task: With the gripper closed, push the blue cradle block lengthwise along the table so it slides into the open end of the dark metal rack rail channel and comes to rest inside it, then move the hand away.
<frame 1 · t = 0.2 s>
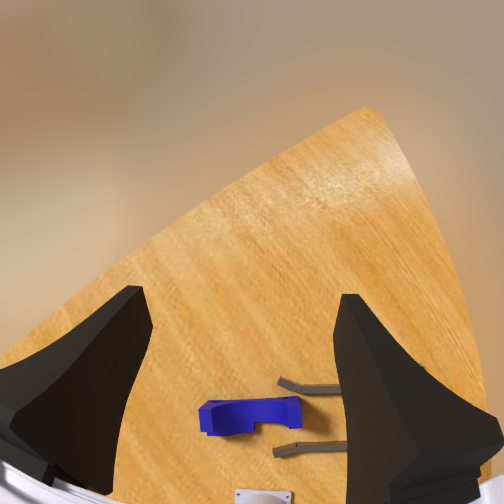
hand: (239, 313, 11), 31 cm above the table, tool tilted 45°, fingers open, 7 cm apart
rack rail: (356, 415, 36), on the table
blue cradle block: (254, 413, 38), on the table
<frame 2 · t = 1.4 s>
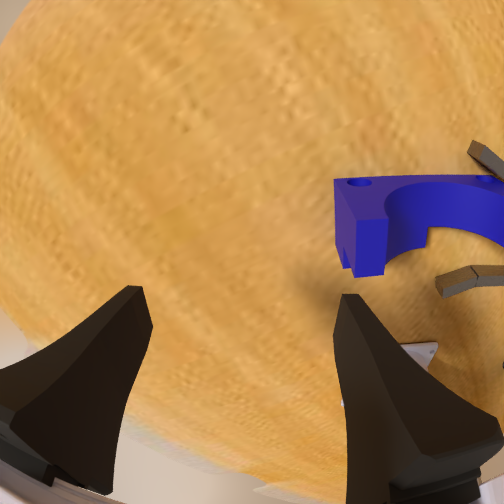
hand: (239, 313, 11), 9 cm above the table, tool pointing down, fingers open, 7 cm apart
blue cradle block: (418, 205, 18), on the table
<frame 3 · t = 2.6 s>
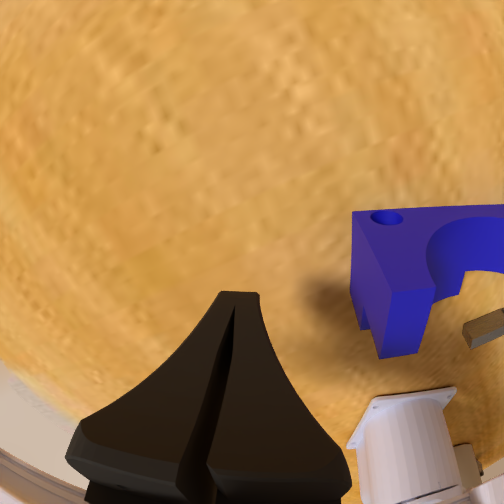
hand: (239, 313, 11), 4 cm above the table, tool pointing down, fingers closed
travel mug: (446, 454, 29), on the table
blue cradle block: (453, 241, 14), on the table
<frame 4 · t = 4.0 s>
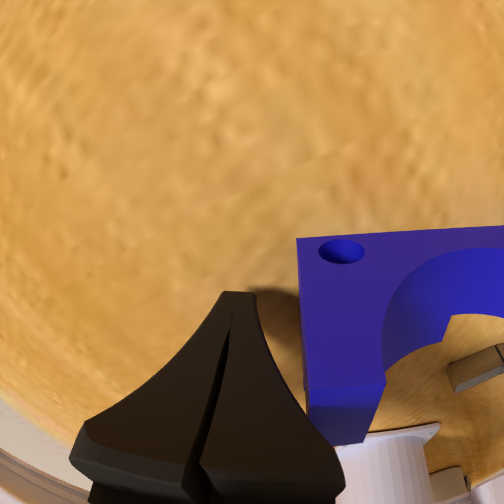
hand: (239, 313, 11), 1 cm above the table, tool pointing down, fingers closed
travel mug: (433, 476, 27), on the table
blue cradle block: (439, 274, 11), on the table, touching gripper
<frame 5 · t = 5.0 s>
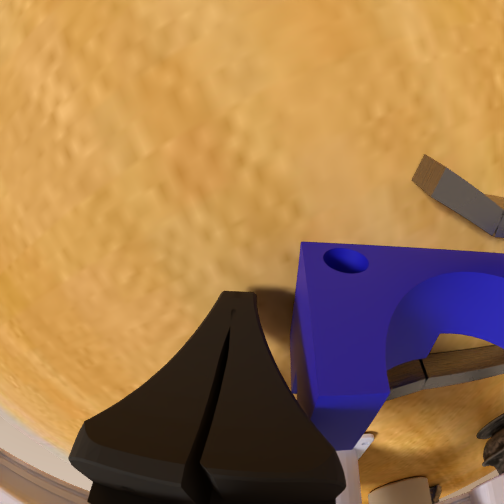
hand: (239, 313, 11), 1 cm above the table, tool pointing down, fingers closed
snack package: (400, 494, 32), on the table
salt shaker: (498, 422, 19), on the table
travel mug: (397, 484, 27), on the table
blue cradle block: (431, 293, 12), on the table, touching gripper
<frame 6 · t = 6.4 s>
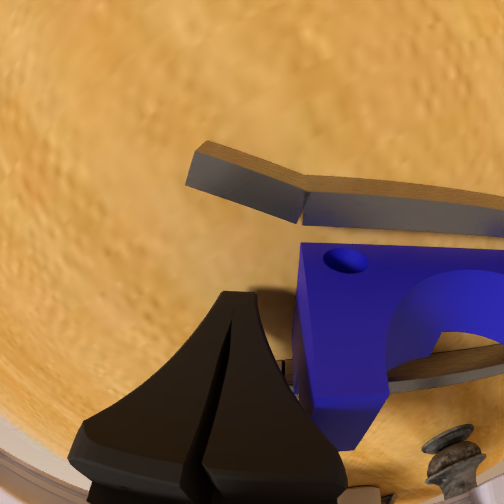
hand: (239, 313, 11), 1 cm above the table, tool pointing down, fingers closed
snack package: (354, 501, 33), on the table
rack rail: (465, 296, 11), on the table
salt shaker: (447, 437, 20), on the table
travel mug: (347, 492, 28), on the table
blue cradle block: (433, 291, 11), on the table, touching gripper
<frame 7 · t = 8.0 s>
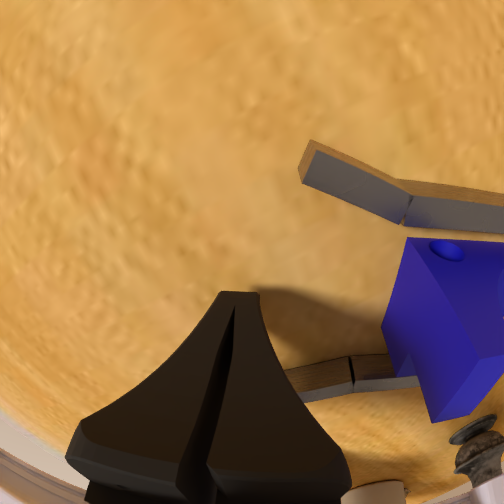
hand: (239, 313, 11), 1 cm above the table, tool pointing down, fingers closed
salt shaker: (472, 428, 20), on the table
travel mug: (371, 487, 28), on the table
blue cradle block: (494, 279, 11), on the table
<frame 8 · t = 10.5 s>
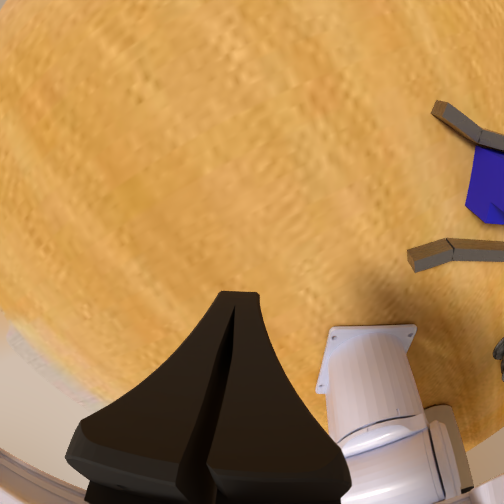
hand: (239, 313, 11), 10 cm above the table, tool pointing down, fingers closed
travel mug: (425, 417, 33), on the table
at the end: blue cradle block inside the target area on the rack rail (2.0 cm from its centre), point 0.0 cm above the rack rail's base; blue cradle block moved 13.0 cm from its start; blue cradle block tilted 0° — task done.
